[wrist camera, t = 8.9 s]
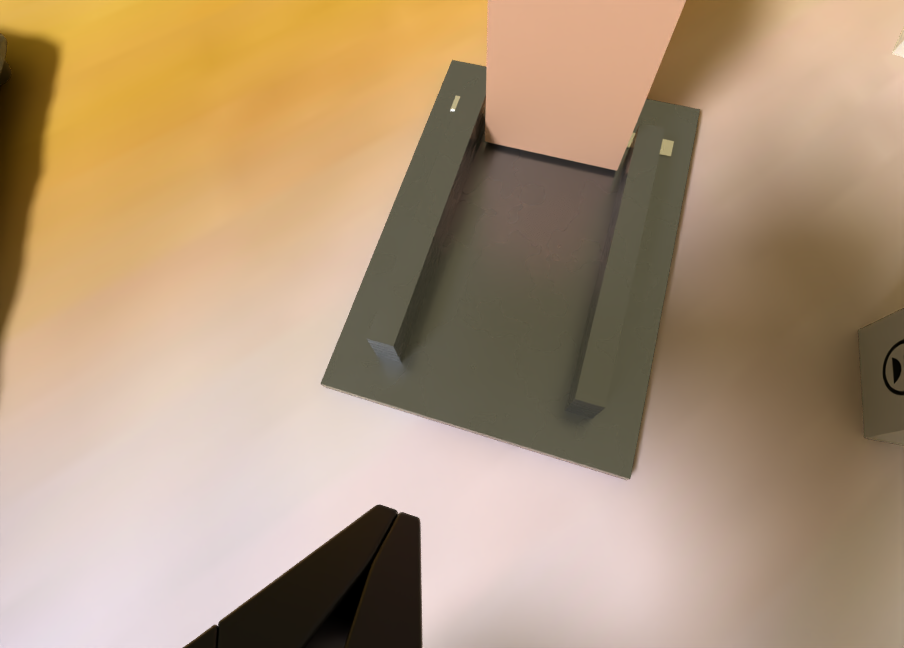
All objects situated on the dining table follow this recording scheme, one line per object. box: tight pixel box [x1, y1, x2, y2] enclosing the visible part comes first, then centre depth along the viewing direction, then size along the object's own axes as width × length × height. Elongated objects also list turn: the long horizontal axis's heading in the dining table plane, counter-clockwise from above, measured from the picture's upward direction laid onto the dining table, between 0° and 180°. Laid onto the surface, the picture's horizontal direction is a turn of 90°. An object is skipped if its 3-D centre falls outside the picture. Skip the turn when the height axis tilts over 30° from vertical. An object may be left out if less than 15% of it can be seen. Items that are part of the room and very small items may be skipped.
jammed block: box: [485, 0, 686, 171], centre depth 22 cm, size 7×7×12 cm
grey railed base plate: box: [321, 60, 700, 480], centre depth 25 cm, size 20×14×3 cm
